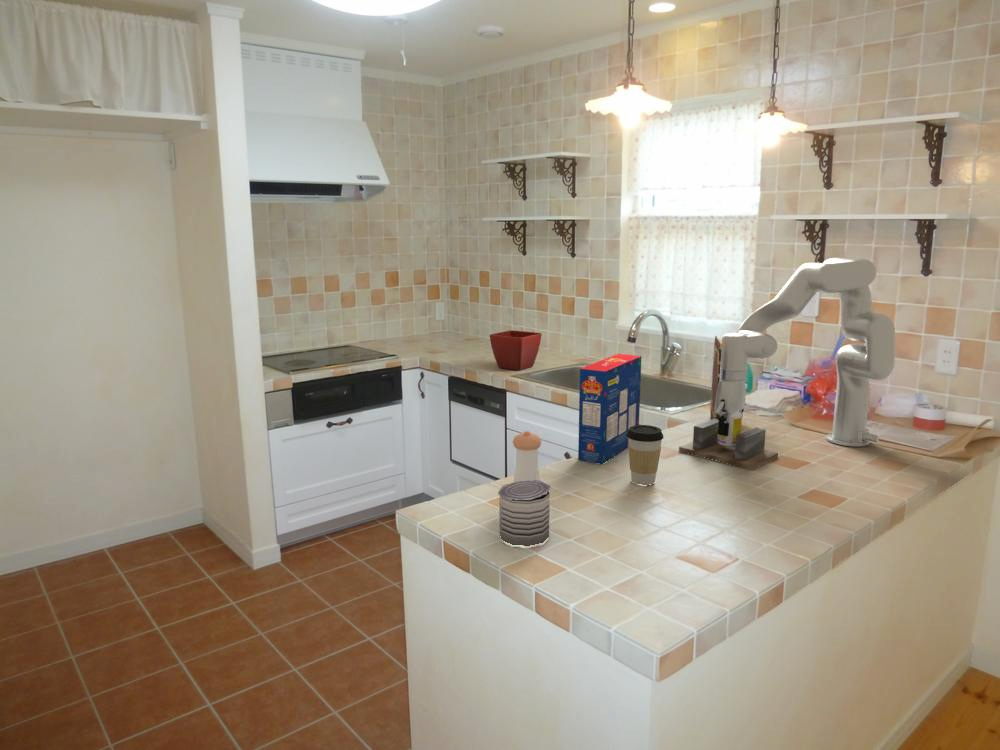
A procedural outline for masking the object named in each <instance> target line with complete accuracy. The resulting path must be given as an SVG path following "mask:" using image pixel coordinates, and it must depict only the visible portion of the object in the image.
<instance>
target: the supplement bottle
mask: <svg viewBox="0 0 1000 750" xmlns="http://www.w3.org/2000/svg"><path fill="white" fill-rule="evenodd" d="M723 412H726V413H727V411H723ZM723 415H724V414H723ZM742 415H743V413H742V414H741V412H739V411H736V412H735V413H732V414H730V416H729V420H728V423H729V433H728V436H723V435H719V434H718V437H717V442H718V443H719V444H720V445H723V446H729V447H734V446H736V436H737V435H739V434H742V420H743V417H742ZM724 417H726V415H724Z"/></svg>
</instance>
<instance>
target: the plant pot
mask: <svg viewBox="0 0 1000 750" xmlns="http://www.w3.org/2000/svg"><path fill="white" fill-rule="evenodd" d="M542 335H543V333H541V332H534V331H533V332H532V331H526V330H525V331H521V330H505V331H500V332H494V333H491V334H489V341H490V345H491V350H492V353H493V356H494V359H495V362H496V364H497V368H500V369H506V370H514V371H522V370H525V369H528V368H532V367H533V366H534V364H535V361H536V359H537V356H538V352H539V351H540V346H541V345H540V344H541V341H542Z"/></svg>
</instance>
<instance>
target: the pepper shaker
mask: <svg viewBox="0 0 1000 750" xmlns="http://www.w3.org/2000/svg"><path fill="white" fill-rule="evenodd" d="M512 445H513V447H514V448H515V466H514V473H513V482H516V481H519V480H540V481H541V475H540V469H539V448H540V447H541V445H542V440H541V438H540V436H539V435H538V434H535V433H533V432H530V431H529V430H525V431H524V432H522V433H519V434H516V435H515V436H514V437H513V440H512Z"/></svg>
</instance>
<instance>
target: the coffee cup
mask: <svg viewBox="0 0 1000 750" xmlns="http://www.w3.org/2000/svg"><path fill="white" fill-rule="evenodd" d="M626 436H627V437H628V443H629V445H628V448H627V449H628V450H627V451H628V458H629V459H628V462H629V470H630V480H632V481H631V483H632V482H634V483H636V484H642V485H649V484H653V483H654V482H655V483H656V478H657V477H656V476H657V472H658V468H659V461H660V455H661V449H662V440H663V439H664V434H663V432H662V429H661V428H660V427H658V426H654V425H650V424H649V425H647V424H639V425H636V426H632V427H630V428H629V431H628V432H627V435H626ZM655 483H654V484H655Z"/></svg>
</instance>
